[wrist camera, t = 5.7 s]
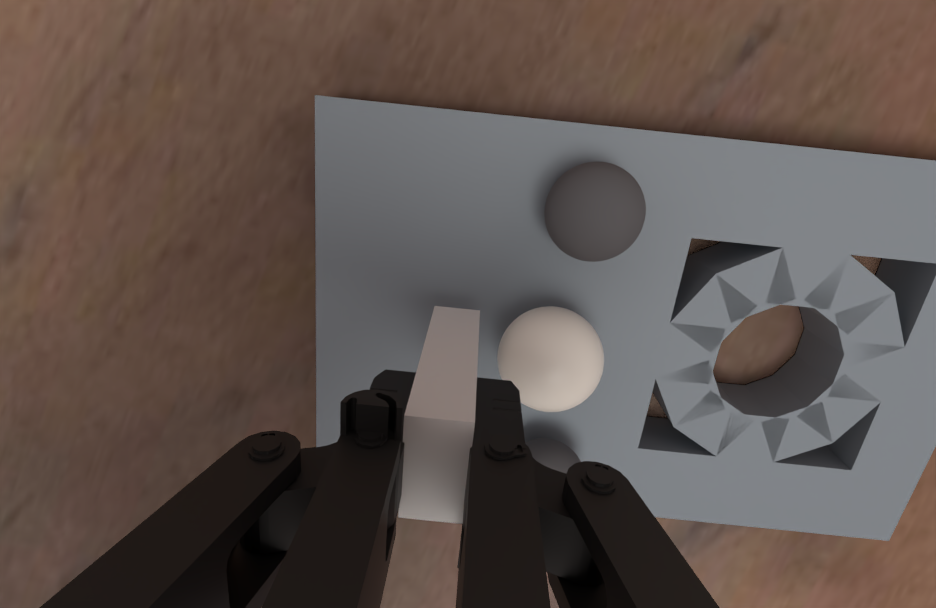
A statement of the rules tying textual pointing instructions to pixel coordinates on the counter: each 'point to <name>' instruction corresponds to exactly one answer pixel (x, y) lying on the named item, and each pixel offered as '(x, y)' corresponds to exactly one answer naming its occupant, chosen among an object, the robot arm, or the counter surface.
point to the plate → (650, 300)
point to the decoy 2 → (595, 211)
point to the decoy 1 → (552, 454)
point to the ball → (551, 358)
